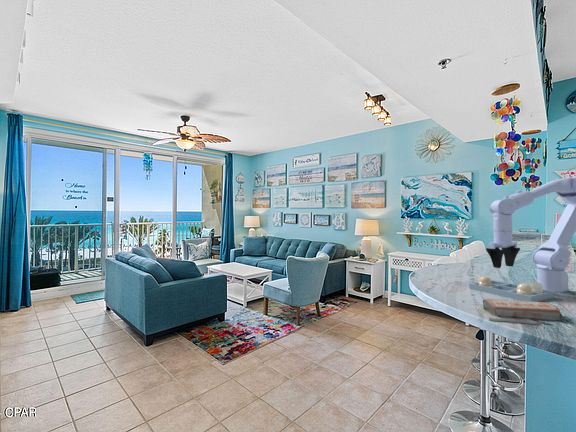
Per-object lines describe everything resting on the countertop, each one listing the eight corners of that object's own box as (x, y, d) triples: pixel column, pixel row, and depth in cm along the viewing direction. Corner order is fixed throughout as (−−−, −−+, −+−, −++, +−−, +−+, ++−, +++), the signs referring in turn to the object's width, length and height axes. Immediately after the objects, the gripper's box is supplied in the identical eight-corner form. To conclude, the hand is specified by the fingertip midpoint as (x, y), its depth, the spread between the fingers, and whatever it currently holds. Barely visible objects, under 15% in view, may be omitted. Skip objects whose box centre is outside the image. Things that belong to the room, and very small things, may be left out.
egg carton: (491, 287, 114) (491, 279, 114) (554, 300, 95) (554, 291, 95) (469, 291, 108) (469, 283, 108) (531, 305, 90) (530, 296, 90)
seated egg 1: (521, 296, 97) (520, 281, 97) (535, 299, 94) (534, 284, 94) (514, 297, 96) (513, 282, 96) (528, 300, 92) (527, 285, 92)
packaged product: (545, 299, 83) (568, 309, 73) (545, 315, 83) (569, 328, 73) (475, 295, 87) (488, 304, 78) (475, 310, 87) (488, 322, 78)
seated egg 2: (531, 294, 100) (531, 279, 100) (545, 296, 96) (545, 282, 96) (525, 295, 98) (525, 281, 98) (539, 298, 95) (538, 283, 95)
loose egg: (483, 287, 109) (482, 274, 109) (494, 290, 105) (493, 276, 105) (476, 289, 108) (476, 275, 108) (487, 291, 104) (487, 277, 104)
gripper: (503, 230, 114) (503, 263, 114) (479, 231, 108) (480, 266, 108) (523, 230, 107) (524, 266, 107) (499, 231, 102) (500, 269, 101)
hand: (503, 266), depth 107 cm, fingers open, 7 cm apart
